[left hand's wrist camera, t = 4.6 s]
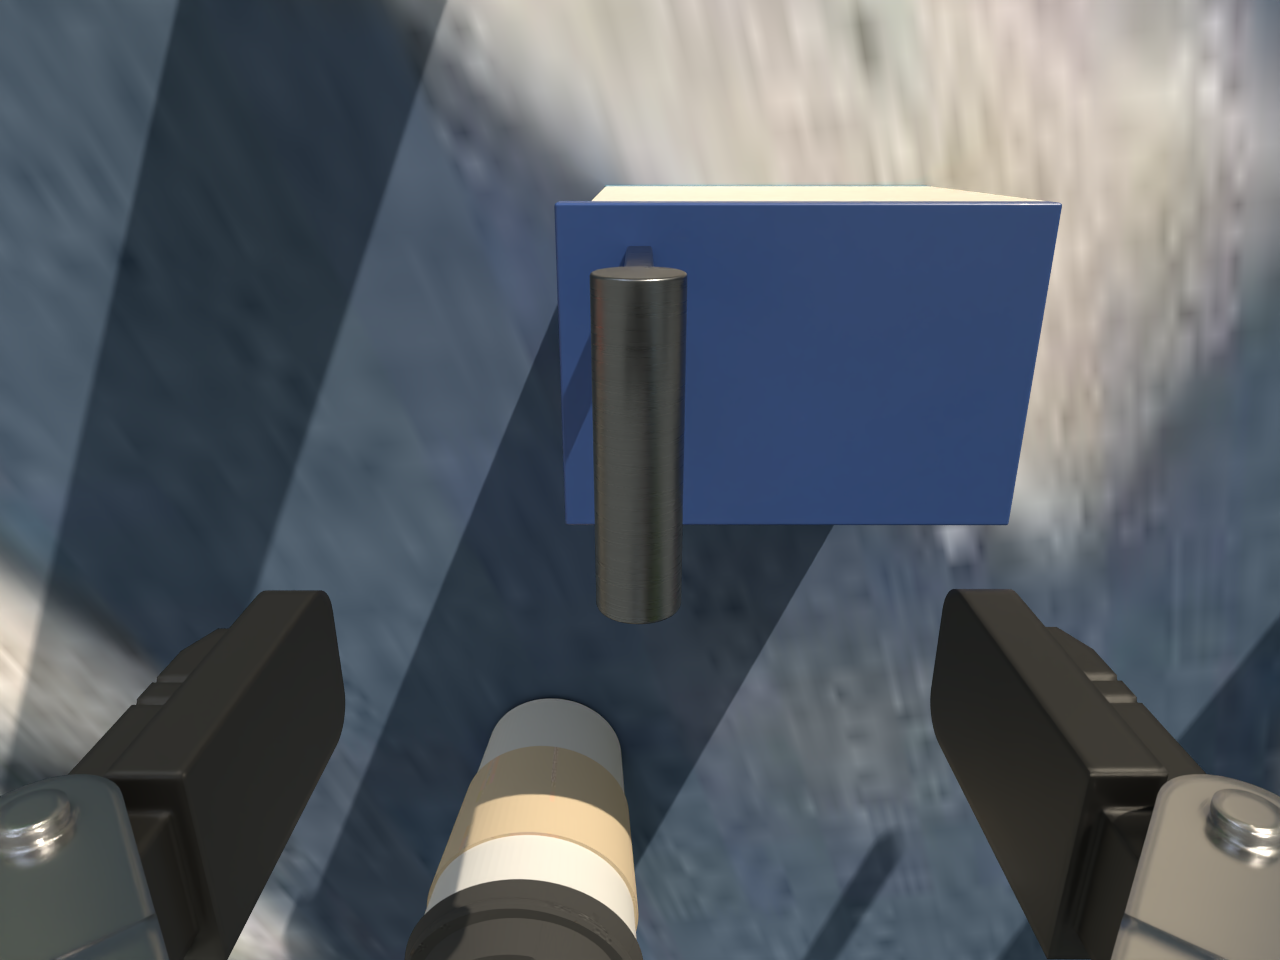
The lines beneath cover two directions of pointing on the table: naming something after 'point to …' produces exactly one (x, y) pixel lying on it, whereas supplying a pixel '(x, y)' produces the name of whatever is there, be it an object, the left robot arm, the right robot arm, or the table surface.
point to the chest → (792, 193)
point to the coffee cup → (538, 848)
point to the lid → (789, 369)
